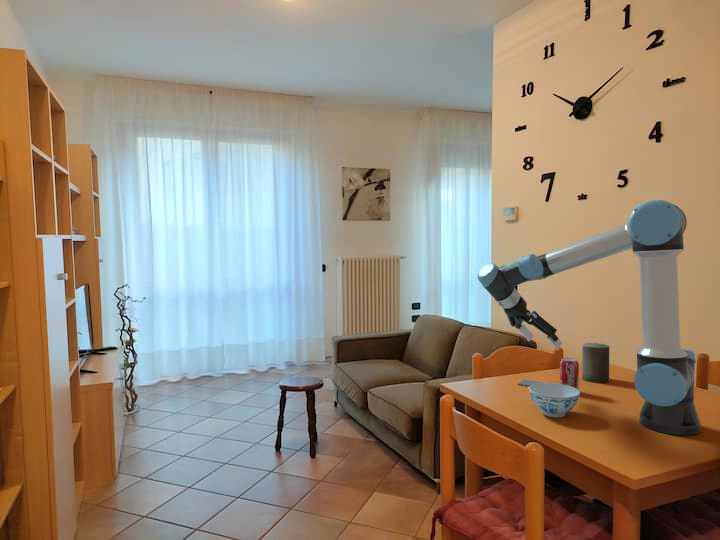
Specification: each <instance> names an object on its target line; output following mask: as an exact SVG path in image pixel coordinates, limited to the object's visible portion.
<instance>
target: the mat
mask: <svg viewBox="0 0 720 540" xmlns="http://www.w3.org/2000/svg"><path fill="white" fill-rule="evenodd" d="M537 383H544V381H535V380H530V379H523V380H521V381H520V382H518V383H517V386H521V385H524V386H523V387H527V386H530V385H533V384H537Z"/></svg>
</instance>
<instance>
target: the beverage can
mask: <svg viewBox="0 0 720 540" xmlns="http://www.w3.org/2000/svg"><path fill="white" fill-rule="evenodd" d="M579 370H580V366H579V361H578V360H577V358H573V357H562V358H561V360H560V362H559V384H563V385H567V386H571V387H574V388H576V389H578V390H579V387H580V386H579V384H580V383H579V379H580V378H579V375H580V374H579V372H580V371H579Z"/></svg>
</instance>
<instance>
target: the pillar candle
mask: <svg viewBox="0 0 720 540" xmlns="http://www.w3.org/2000/svg"><path fill="white" fill-rule="evenodd" d="M581 345H582V347H581V350H582V353H581V355H582V356H581V379H582V380H583V381H587V382H592V383H597V384H600V383H601V384H602V383H603V384H604V383H608V382H610V345H608V344H605V343H599V342H598V343H597V342H586V343H581Z"/></svg>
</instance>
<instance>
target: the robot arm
mask: <svg viewBox="0 0 720 540" xmlns="http://www.w3.org/2000/svg"><path fill="white" fill-rule="evenodd" d="M687 221H688V220H687V215H686V214H685V213H684V211H683V210H682V208H680V207H679V206H677V205H676V204H673V203H672V202H669V201H667V200H662V199H661V200H659V199H654V200H650V201H649V200H647V201H645V202H643V203H641V204H640V205H637V206H636V207H635V208H634V210H632V212H631V213H630V215H629V217H628V220H627V222H626V223H625V224H622V225H620V226H617V227H614V228H611V229H609V230H607V231H604V232H603V231H602V232H601V233H598V234H595V235H593V236H590V237H588V238H584V239H582V240H579V241H576V242H573V243H571V244H568V245H565V246H562V247H560V248H556V249H555V250H552V251H549V252H547V253H544V254H541V255H538V256H537V255H536V254H534V253H530V254H527V255H524V256H523V255H522V256H521V257H520V258H518V259H516V260H514V261H511V262H509V263H507V264H504V265H501V266H500V267H499V266H498V265H496V263H488V264H485V265H483V266H482V267H481V268H480V269H479V271H478V273H477V277H476V278H477V280H478V281H479V283H480V284H481V286H482V287H483V289H484V290H486V291H487V292H488V293H489V295H490V296H491V297H492V298H493V299H494V300H495V301H496V303H497V306H498V307H500V308H502V310H503V312H504V313H505V315H506V316H507V319H508V322H509V325H510V326H511V327H515V329H517V330H518V331H519V332H520V333H521V334H522V335H523V337H524V338H525V339H526V340H527V342H530V341H531V340H532V339H533V338H534V334H533V333H532V332H531V331H530V329H529V328H528V327H527V326H526V325H525V324H524V322H525V323H526V324H527V325H529V326H533V327H535V328H536V329H538V330H539V332H542V333H543V334H545V336H546V339H548V340H549V342H550V343H551V344H552V345H553V347H555V349H556V350H559V349H560V348H561V346H562V345H563V341H562V340H561V339H560V338H559V337H558V335H556V333H557V331H558V329H557V328H556V327H554V326H553V325H552V324H551V323H549V322H548V321H547V320H545V319H544V318H543V317H542V316H541V315H539V314H538V312H537V311H536V310H533V311H532V312H531V311H530V310H529V309H528V308H527V307H528V304H527V302H526V300H525V299H524V298H523V296H522V295H521V294H520V293H519V291H518V290H517V289H516V288H515V287H516V286H519V285H522V284H523V283H528V282H532V281H540V280H545V279H547V278H548V277H552V276H554V275H556V274H560V273H564V272H565V271H569V270H572V269H575V268H578V267H580V266H583V265H587V264H589V263H593V262H596V261H599V260H603V259H605V258H609V257H611V256H614V255H618V254H620V253H623V252H626V251H628V250H632V254H634V255H635V256H636V257H637V258H638V259H639V282H640V283H639V284H640V307H641V333H642V335H641V336H642V346H641V347H639V348H638V349H637V350H636V366H637V367H636V368H637V369H636V372H635V374H634V378H633V379H634V380H633V381H634V382H633V383H634V387H635V390H636V391H637V393H638V395H639V396H640V397H641V398H642V399H644V402H643V405H642V407H641V409H640V412H639V414H638V415H639V416H638V420H639V424H641V425H642V426H644V427H646V428H648V429H650V430H652V431H655V432H658V433H659V432H660V433H664V434H669V435H675V436H694V435H699V433H701V432H702V423H701V420H700V417H699V413H698V411H697V408H696V405H695V373H696V372H695V370H696V369H695V368H696V367H695V366H696V361H697V360H696V356H695V353H694V351H693V350H690V349H685V348H682V346H681V331H680V330H681V329H680V303H679V301H680V299H679V277H678V274H679V273H678V256H679V255H680V254H682V253H683V251H684V250H685V249H684V233H685V231H686V229H687V225H688V222H687Z"/></svg>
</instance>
